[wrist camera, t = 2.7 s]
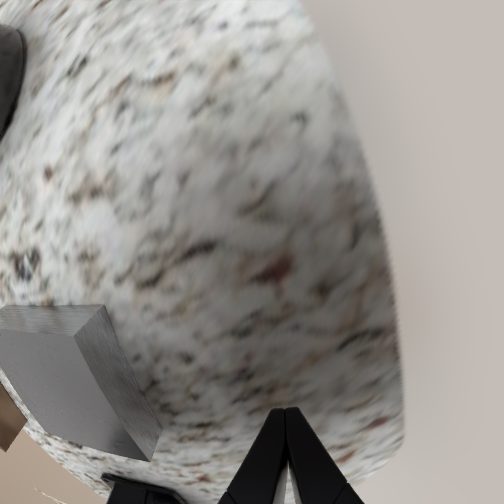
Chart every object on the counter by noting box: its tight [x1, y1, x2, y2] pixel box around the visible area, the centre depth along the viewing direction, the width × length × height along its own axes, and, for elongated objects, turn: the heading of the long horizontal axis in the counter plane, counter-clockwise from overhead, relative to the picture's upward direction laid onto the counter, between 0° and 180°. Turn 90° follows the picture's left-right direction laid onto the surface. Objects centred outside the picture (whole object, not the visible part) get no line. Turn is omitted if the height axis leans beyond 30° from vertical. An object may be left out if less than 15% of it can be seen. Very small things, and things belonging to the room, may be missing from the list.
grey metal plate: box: [0, 305, 162, 462], centre depth 9 cm, size 7×7×2 cm
